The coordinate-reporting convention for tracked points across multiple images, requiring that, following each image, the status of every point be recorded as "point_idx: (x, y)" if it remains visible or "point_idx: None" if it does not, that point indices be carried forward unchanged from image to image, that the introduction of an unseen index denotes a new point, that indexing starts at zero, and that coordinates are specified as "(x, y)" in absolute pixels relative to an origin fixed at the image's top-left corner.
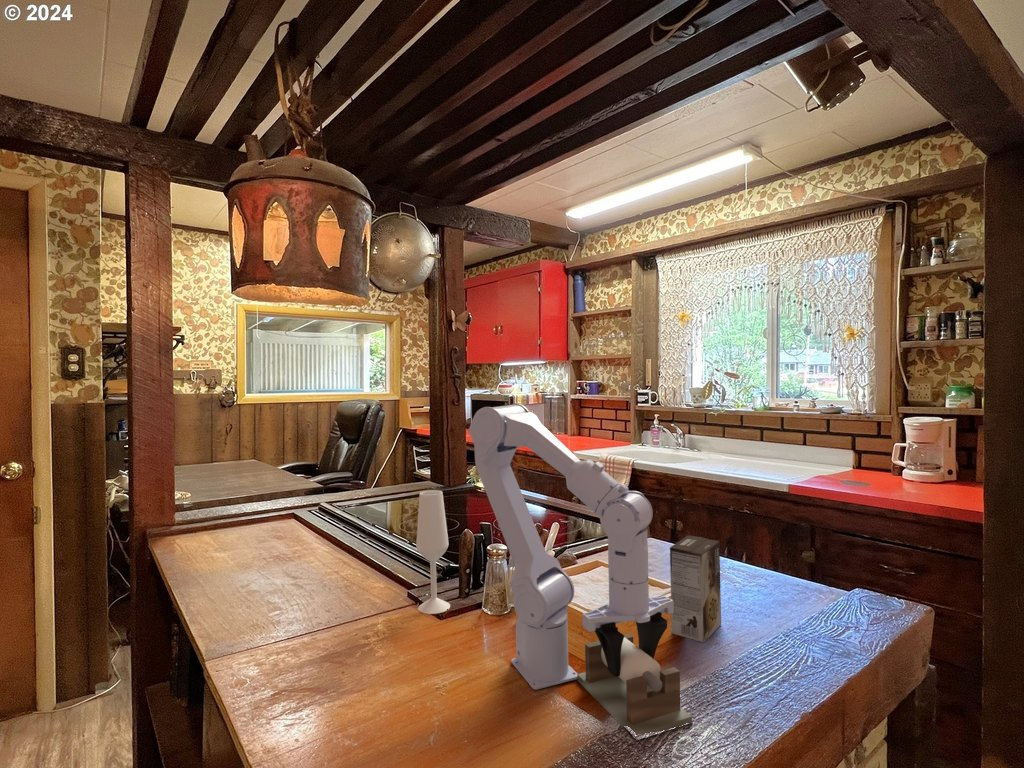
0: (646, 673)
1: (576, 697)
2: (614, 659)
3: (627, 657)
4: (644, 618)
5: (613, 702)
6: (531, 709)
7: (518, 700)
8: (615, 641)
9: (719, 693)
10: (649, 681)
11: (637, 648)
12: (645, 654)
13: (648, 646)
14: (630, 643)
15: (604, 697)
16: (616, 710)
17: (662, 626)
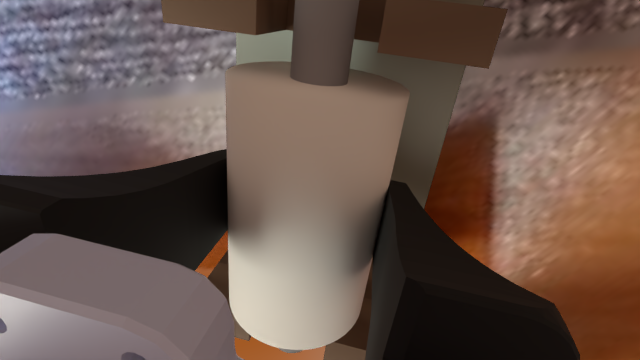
0: (326, 67)
1: (459, 245)
2: (432, 221)
3: (351, 196)
4: (75, 297)
5: (415, 149)
6: (620, 281)
7: (610, 327)
8: (487, 282)
9: (76, 17)
10: (352, 14)
11: (255, 216)
12: (256, 148)
13: (192, 196)
14: (257, 264)
15: (418, 185)
16: (442, 110)
17: (2, 185)
